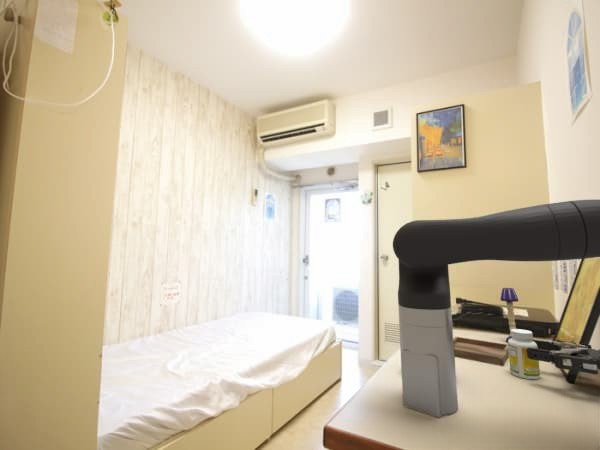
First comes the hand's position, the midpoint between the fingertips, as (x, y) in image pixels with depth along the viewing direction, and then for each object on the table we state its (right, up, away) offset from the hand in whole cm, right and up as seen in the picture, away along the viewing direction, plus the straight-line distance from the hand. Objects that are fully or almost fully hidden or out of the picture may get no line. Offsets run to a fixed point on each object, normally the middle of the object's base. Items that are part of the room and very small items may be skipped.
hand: (528, 348), depth 65 cm
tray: (-2, -8, +16) cm, 18 cm away
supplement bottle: (-1, -6, 0) cm, 6 cm away
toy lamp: (+15, -9, +26) cm, 31 cm away
